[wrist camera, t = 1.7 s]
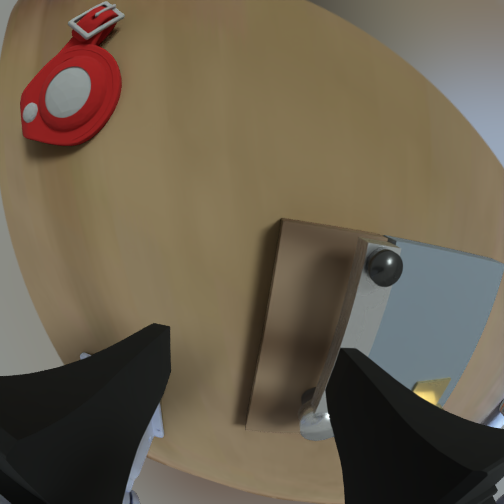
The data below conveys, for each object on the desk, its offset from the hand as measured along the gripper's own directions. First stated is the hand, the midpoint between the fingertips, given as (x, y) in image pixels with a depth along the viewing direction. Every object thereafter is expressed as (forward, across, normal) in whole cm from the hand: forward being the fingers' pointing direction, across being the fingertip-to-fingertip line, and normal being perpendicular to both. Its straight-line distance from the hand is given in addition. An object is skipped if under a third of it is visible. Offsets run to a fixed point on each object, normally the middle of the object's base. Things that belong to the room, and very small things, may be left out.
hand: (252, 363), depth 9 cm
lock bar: (+6, -6, +3) cm, 9 cm away
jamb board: (+9, -4, +5) cm, 12 cm away
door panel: (+9, -15, +5) cm, 18 cm away
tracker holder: (+10, +15, -14) cm, 23 cm away
